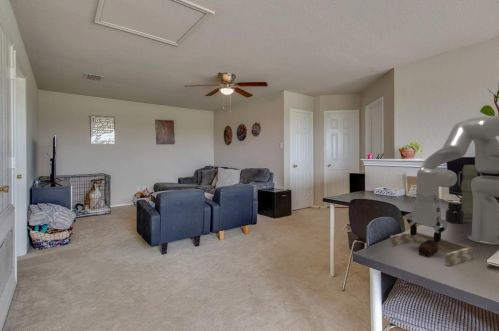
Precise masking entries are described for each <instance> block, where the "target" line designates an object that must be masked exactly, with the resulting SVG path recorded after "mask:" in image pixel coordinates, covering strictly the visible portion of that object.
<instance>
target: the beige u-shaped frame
mask: <svg viewBox="0 0 499 331" xmlns="http://www.w3.org/2000/svg"><path fill="white" fill-rule="evenodd" d="M427 240H432V241H434V236H432V235H428V234H424V233H421V232H418V231H417V234H416V235H411V232H410V231H407V232H404V233H403V232H402V233H398V234H394V235H393V234H392V235H390V236H389V246H390V247H394V246H400V244H401V245H404V244H409V243H413V242H415V243H417V244H422V243H424V242H425V241H427ZM438 250H440V251H444V252H445V256H444V265H445V266H446V267H452V266H454V265H458V264H461V263H463V262H467V261H470V260H473V259H474V247H472V246H468V245H465V244H461V243H458V242H453V241H449V240H447V239H443V238H441V240H440V242H438Z"/></svg>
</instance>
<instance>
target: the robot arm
mask: <svg viewBox="0 0 499 331" xmlns="http://www.w3.org/2000/svg"><path fill="white" fill-rule="evenodd" d="M497 137H499V114H498V115H490V116H481V117H472V118H469V119H465V120H462V121H460V122H457V123H456V124H455V125H454V126H453V127H452V129H451V131H450V133H449V135H448V137H447V139H446V141H445V142H444V145H443V146H442V147H441V148H439V149H438V150H436V151H435V152H434V153H432V154H431V155H429V156H427V157H426V159H425V160H424V161H423V163H422V165H421V166H420V168H419V170H418V171H417V173H416V192H415V194H416V195H415V200H414V202H413V205H412V211H411V212H410V213H407V214H405V215H404V216H405V218H406V222H407V224H409V227H410V230H409V232H411V235H416V234H417V232H418V231H417V229H418V227H417V225H423V226H426V227H429V228H430V227H431V228H433V230H434V233H433V237H434V242H440V240H441V239H442V233H443V232H444V231H446V230H447V229H448V227H449V226H450V224H449V222H448V221H446V220H444V219H443V218H442V210H441V208H442V207H441V205H440V201H441V197H439V194H438V193H439V187H441V188H451V187H453V186H455V185H456V184H457V183H458V175H457V173H456V172H454V171H453V170H450V169H444V168H443V169H440V168H438V167H439V166H441V165H442V164H445V163H448V162H451V161H454V160H457V159H461V158H462V157H464V156H465V155H466V154H467V152H468V149H469V147H470V145H471V143H472V142H473V144H474V154H475V155H474V165H475V167H476V170H477V171H478V172H480V173H481V174H483V173H484V174H492V175H482V176H480V175H478V177H475V178H474V179H473V180H472V181H471V189H472V194H473V215H472V219H471V220H472V221H471V223H472V224H471V234H469V235H467V239H468V240H469V241H472V242H475V243H479V244H484V245H491V246H499V202H498V200H497V199H496V198H499V176H493V175H495V174H496V175H499V140H498V138H497ZM495 197H496V198H495Z"/></svg>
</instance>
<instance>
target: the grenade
mask: <svg viewBox="0 0 499 331" xmlns="http://www.w3.org/2000/svg"><path fill="white" fill-rule="evenodd" d="M457 174H458V175H457V186H458V187H460V191H461V196H460V197H461V199H460V200H461V202H460V203H462V211H463V212H464V219H471V220H472V215H473V194H472V189H471V181H472V180H473V179H474V178H475V177H478V176H483V173H482V172H479V171H477V170H476V167H475V164H464V165H463V168H462V170H461V171H459V172H458V173H457ZM461 174H462V179H461ZM478 174H479V175H478Z"/></svg>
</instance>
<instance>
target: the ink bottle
mask: <svg viewBox="0 0 499 331" xmlns="http://www.w3.org/2000/svg"><path fill="white" fill-rule="evenodd" d="M447 208H448V209H446V210H445V222H447V223H451V224H464V223H465V218H464V212H463V211H462V203H461V202H459V201H448V202H447Z"/></svg>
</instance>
